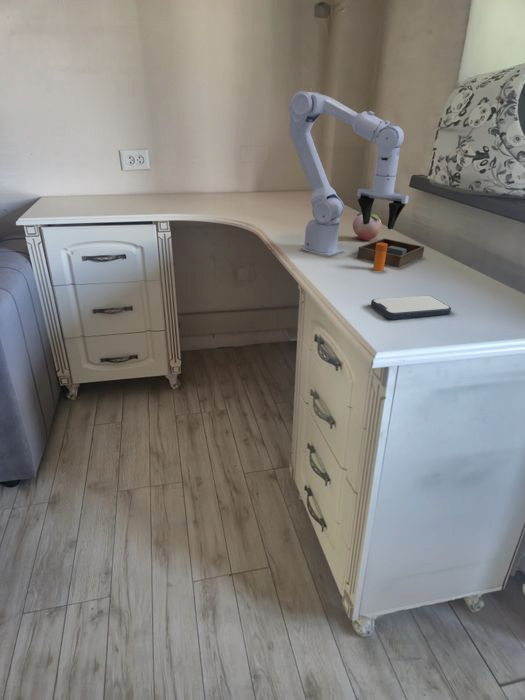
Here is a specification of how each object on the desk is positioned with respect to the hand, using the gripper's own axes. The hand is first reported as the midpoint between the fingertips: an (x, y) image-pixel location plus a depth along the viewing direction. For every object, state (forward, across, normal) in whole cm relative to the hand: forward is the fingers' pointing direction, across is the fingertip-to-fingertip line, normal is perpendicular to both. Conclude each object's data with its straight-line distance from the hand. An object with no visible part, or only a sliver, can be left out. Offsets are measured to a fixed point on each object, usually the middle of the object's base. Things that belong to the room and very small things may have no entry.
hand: (378, 226), depth 137 cm
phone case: (+10, -25, +28) cm, 39 cm away
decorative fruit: (+10, +13, -18) cm, 24 cm away
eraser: (+9, -2, -9) cm, 13 cm away
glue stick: (+10, -6, +8) cm, 14 cm away
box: (+10, -2, -6) cm, 12 cm away
